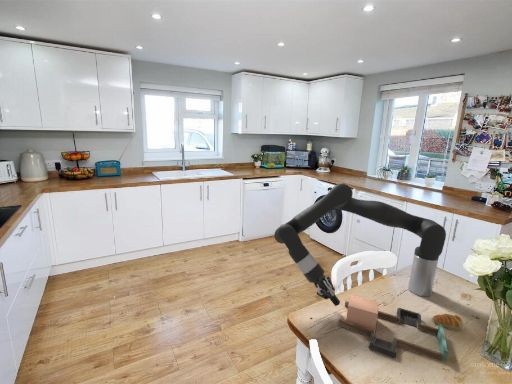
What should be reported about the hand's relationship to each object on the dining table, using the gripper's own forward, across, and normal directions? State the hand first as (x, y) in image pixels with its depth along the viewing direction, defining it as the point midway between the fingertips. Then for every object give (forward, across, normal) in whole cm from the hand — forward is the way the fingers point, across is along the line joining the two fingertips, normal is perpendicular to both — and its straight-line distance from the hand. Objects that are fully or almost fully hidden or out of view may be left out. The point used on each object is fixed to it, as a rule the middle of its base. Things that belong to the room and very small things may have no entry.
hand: (338, 304), depth 107 cm
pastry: (+30, -15, +24) cm, 42 cm away
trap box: (+16, 0, +10) cm, 18 cm away
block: (+9, 0, +3) cm, 10 cm away
